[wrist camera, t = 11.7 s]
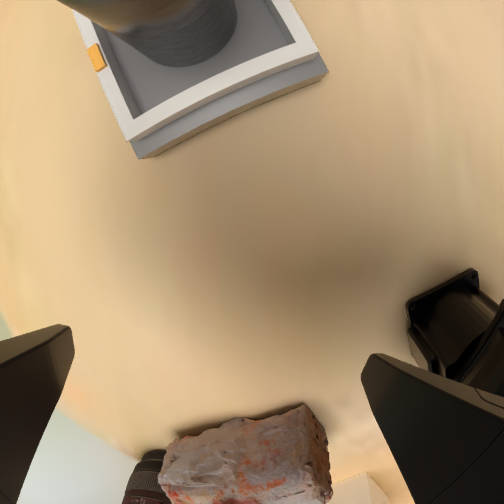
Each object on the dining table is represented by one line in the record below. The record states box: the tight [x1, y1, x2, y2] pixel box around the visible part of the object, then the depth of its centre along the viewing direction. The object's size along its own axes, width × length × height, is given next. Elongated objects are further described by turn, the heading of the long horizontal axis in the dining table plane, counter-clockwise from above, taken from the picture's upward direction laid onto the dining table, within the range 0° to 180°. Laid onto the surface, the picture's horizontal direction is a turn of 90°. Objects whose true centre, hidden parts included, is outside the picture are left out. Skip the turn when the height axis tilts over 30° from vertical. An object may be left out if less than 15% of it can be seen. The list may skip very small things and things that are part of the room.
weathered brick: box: [158, 404, 333, 504], centre depth 21 cm, size 14×8×10 cm, turn 117°
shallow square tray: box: [72, 0, 329, 159], centre depth 14 cm, size 11×12×4 cm
